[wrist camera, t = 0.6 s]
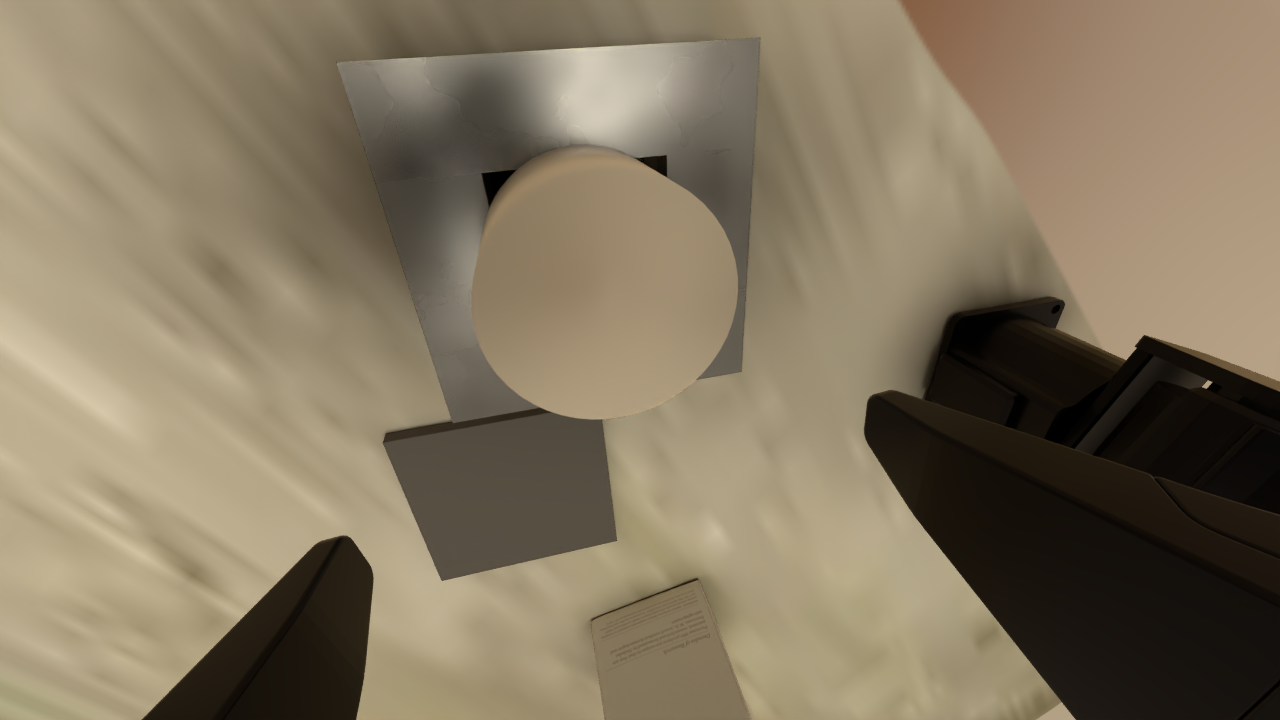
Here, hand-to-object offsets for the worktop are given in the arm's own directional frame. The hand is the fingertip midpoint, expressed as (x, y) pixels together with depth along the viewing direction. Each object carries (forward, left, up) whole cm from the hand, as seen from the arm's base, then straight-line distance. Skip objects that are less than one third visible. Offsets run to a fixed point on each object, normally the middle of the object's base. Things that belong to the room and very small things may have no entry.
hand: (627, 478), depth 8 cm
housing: (-1, -1, -12) cm, 12 cm away
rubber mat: (+4, +11, -12) cm, 17 cm away
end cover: (-1, -1, -12) cm, 12 cm away
